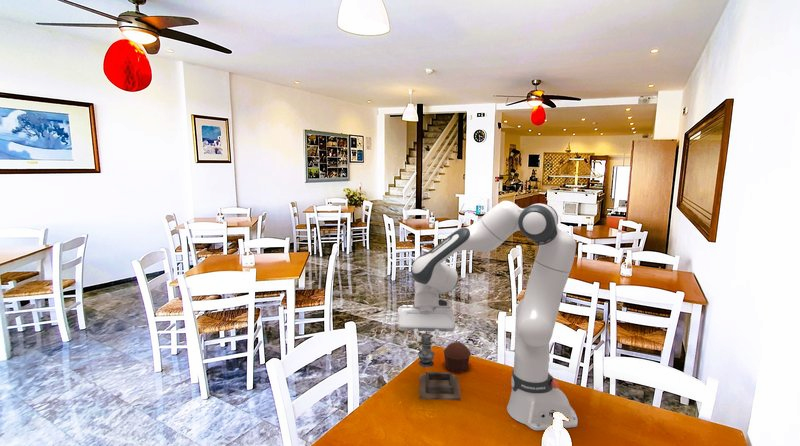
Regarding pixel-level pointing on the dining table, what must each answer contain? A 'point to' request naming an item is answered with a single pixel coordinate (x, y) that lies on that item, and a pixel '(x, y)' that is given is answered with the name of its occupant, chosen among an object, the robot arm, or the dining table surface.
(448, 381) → the walnut board
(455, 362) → the muffin
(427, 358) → the grey chess piece
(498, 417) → the dining table surface
